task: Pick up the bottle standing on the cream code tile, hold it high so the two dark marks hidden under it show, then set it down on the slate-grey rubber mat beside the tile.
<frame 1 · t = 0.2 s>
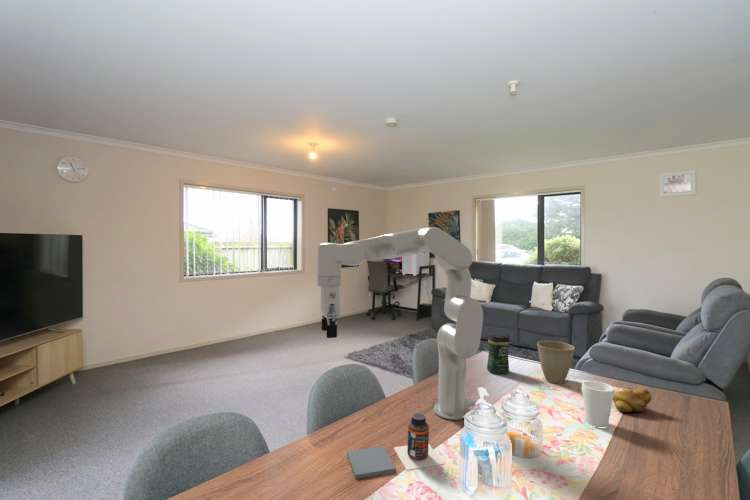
hand: (329, 333, 118), 31 cm above the table, tool pointing down, fingers open, 9 cm apart
plant pot: (554, 381, 163), on the table
coffee jar: (498, 372, 173), on the table
place mat: (370, 463, 101), on the table
code tile: (417, 455, 104), on the table
foam cup: (596, 424, 124), on the table
bread roll: (628, 409, 135), on the table
supplement bottle: (417, 455, 104), resting on code tile
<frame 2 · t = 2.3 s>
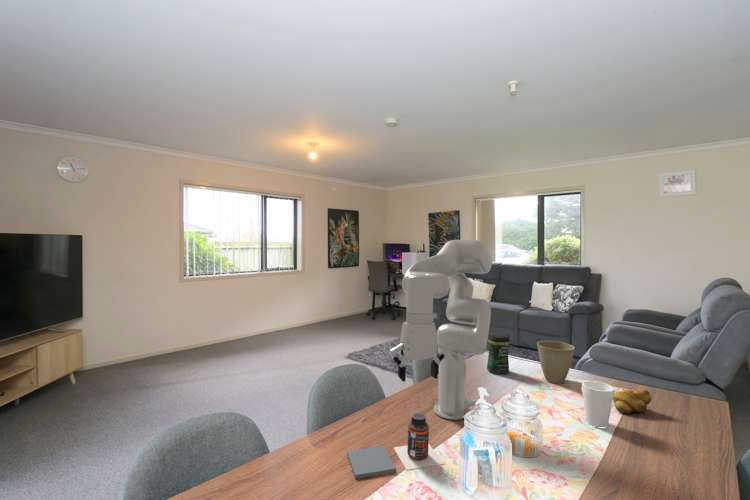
hand: (418, 378, 103), 22 cm above the table, tool pointing down, fingers open, 9 cm apart
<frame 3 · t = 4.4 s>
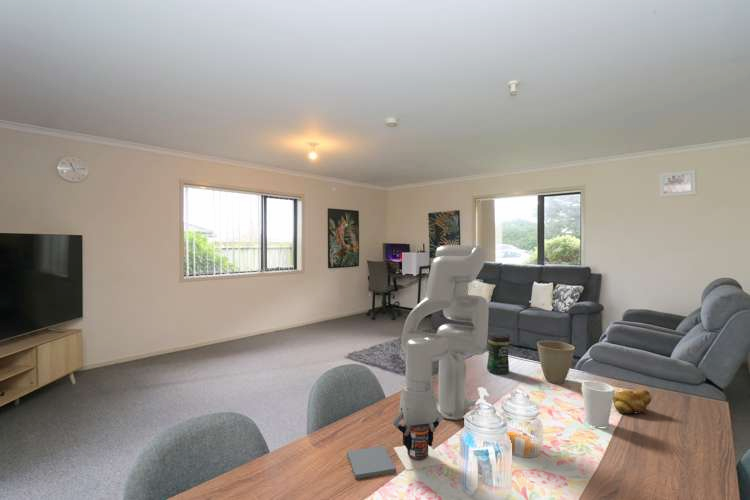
hand: (417, 444, 104), 3 cm above the table, tool pointing down, fingers closed on supplement bottle, 6 cm apart
supplement bottle: (417, 455, 104), resting on code tile, touching gripper
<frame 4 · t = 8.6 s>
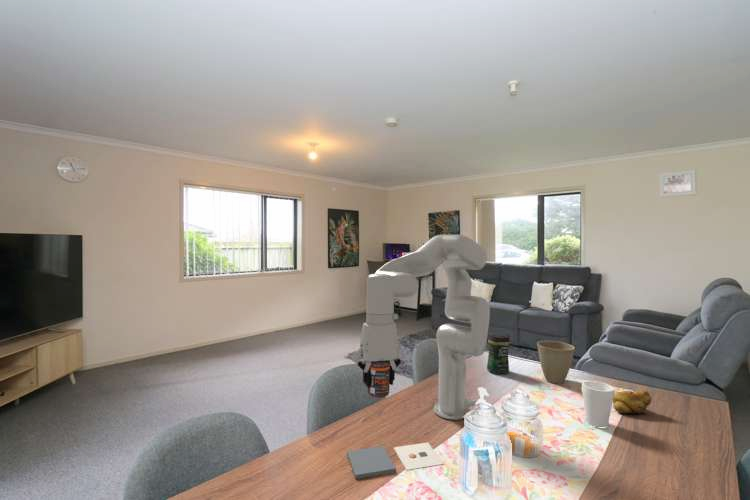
hand: (378, 383, 100), 22 cm above the table, tool pointing down, fingers closed on supplement bottle, 6 cm apart
supplement bottle: (378, 394, 100), point 19 cm above the table, touching gripper
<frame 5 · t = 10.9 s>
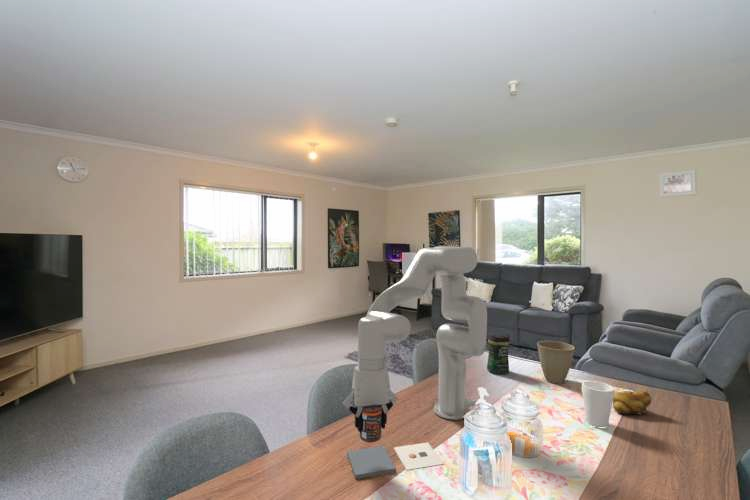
hand: (370, 427, 100), 10 cm above the table, tool pointing down, fingers closed on supplement bottle, 6 cm apart
supplement bottle: (370, 438, 100), point 7 cm above the table, touching gripper
when the fingers open (5 cm above the table, at t = 12.7 s): supplement bottle drops 1 cm, resting on place mat.
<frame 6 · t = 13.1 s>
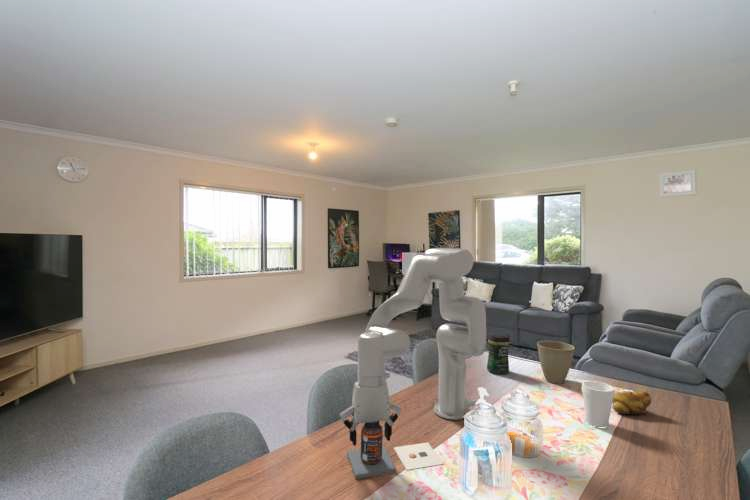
hand: (370, 440, 100), 6 cm above the table, tool pointing down, fingers open, 9 cm apart
supplement bottle: (371, 459, 101), point 1 cm above the table, touching place mat
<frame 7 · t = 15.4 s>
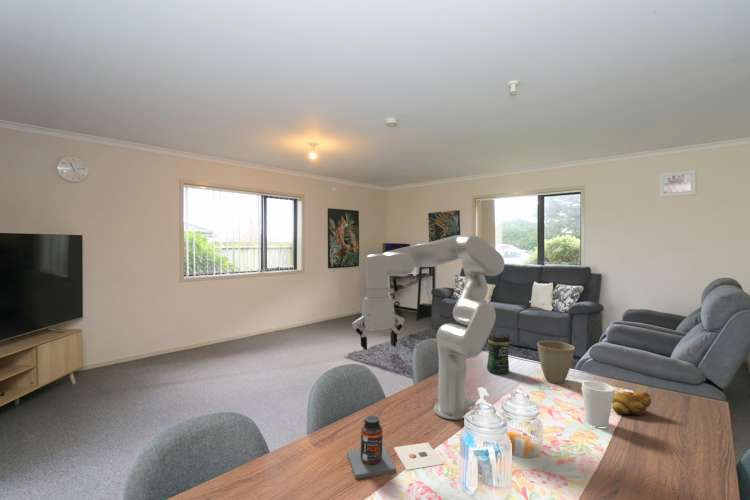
hand: (379, 346, 116), 28 cm above the table, tool pointing down, fingers open, 9 cm apart
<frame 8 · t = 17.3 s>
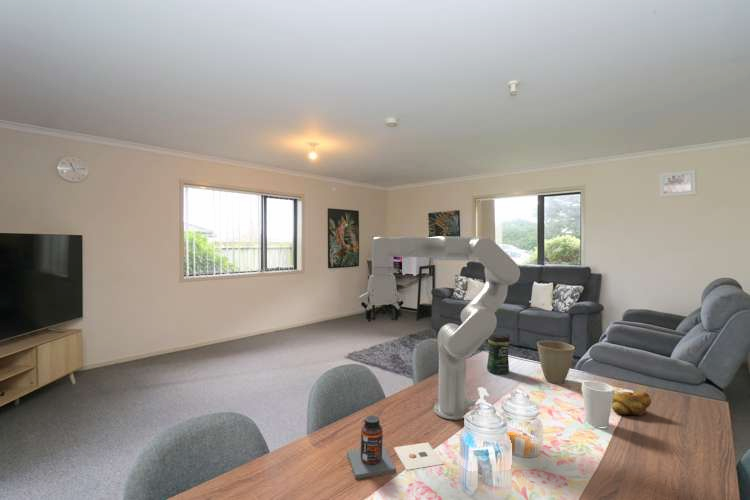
hand: (382, 320, 129), 33 cm above the table, tool pointing down, fingers open, 9 cm apart
at the end: supplement bottle inside the target area on the place mat (0.3 cm from its centre), point 0.8 cm above the place mat's base; supplement bottle tilted 0°; the gripper is holding nothing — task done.
